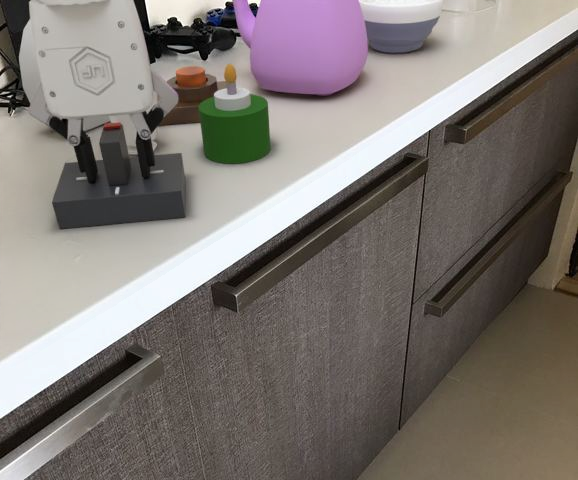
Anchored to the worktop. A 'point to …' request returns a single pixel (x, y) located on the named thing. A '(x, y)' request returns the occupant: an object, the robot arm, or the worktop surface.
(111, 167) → the block
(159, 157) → the dial panel
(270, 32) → the teapot
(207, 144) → the candle
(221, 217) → the worktop surface
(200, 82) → the power button
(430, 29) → the bowl
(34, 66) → the soap bottle
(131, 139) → the cup
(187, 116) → the switch block
